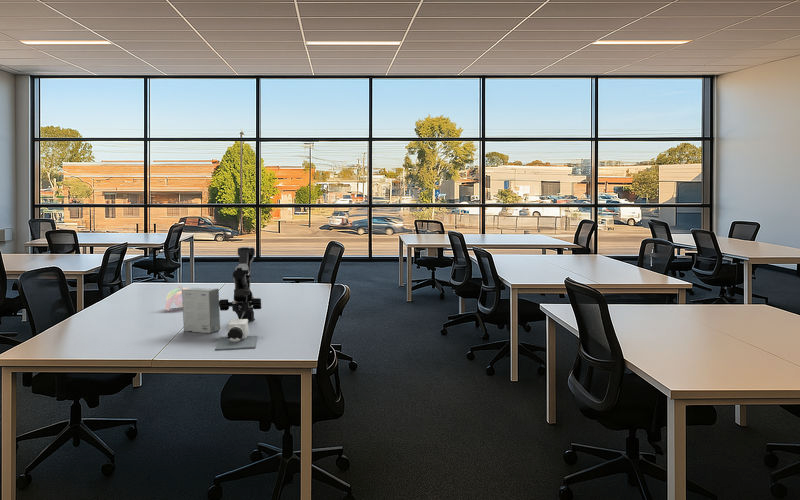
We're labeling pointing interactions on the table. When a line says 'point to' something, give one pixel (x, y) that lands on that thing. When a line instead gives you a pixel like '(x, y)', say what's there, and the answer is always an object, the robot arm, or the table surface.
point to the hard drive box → (201, 310)
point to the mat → (236, 343)
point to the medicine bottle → (238, 330)
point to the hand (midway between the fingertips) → (239, 319)
